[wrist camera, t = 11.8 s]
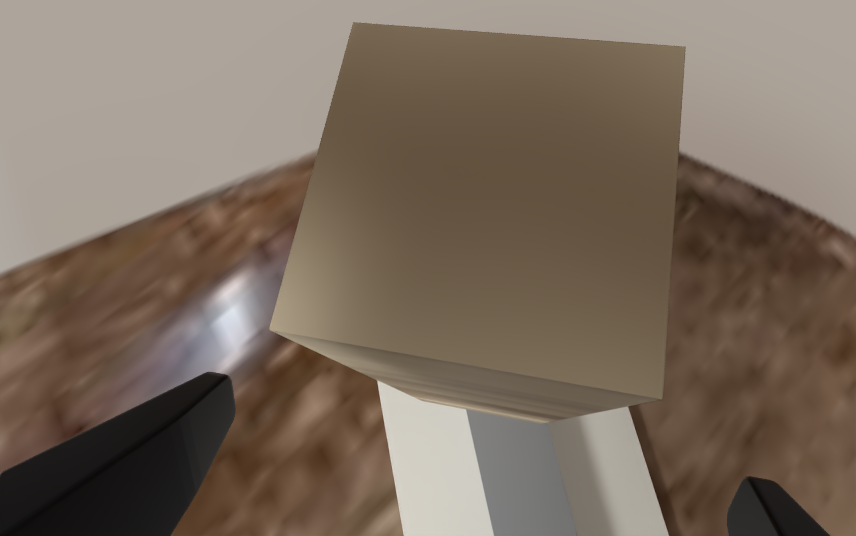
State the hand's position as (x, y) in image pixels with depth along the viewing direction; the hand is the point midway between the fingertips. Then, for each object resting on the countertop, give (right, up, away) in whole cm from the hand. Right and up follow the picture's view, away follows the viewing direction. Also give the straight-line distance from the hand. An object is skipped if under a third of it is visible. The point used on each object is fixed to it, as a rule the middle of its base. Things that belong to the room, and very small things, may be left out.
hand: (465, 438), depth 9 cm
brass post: (+1, 0, +9) cm, 9 cm away
